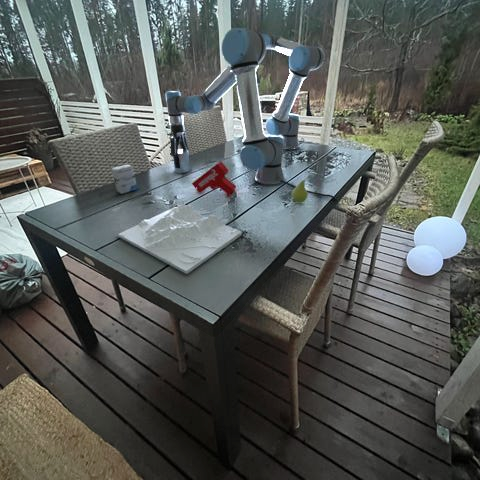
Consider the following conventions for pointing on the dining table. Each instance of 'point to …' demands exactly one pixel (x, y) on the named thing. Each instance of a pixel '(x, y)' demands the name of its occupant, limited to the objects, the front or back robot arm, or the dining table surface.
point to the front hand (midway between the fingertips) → (182, 165)
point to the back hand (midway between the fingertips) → (249, 95)
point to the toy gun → (215, 180)
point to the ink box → (124, 178)
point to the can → (183, 161)
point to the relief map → (181, 237)
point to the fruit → (300, 192)
